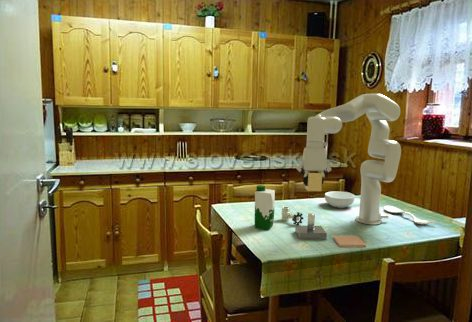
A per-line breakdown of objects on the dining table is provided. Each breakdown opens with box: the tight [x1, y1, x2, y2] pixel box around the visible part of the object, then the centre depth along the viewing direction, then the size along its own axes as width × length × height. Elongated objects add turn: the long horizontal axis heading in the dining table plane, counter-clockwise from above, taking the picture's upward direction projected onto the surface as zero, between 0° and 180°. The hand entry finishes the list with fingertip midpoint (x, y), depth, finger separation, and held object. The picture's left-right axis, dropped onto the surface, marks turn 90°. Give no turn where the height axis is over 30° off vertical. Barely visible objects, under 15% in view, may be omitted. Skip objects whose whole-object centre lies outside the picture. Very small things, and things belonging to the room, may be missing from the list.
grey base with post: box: [294, 212, 328, 241], centre depth 172 cm, size 12×10×10 cm
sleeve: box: [304, 171, 323, 192], centre depth 169 cm, size 6×6×8 cm
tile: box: [332, 235, 367, 248], centre depth 165 cm, size 11×11×1 cm
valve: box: [281, 206, 305, 226], centre depth 191 cm, size 7×7×12 cm
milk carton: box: [254, 184, 276, 231], centre depth 182 cm, size 9×9×20 cm
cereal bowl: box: [324, 190, 355, 209], centre depth 223 cm, size 17×17×7 cm
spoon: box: [383, 205, 436, 225], centre depth 203 cm, size 9×32×4 cm, turn 15°
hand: (313, 185), depth 169 cm, fingers closed on sleeve, 6 cm apart
